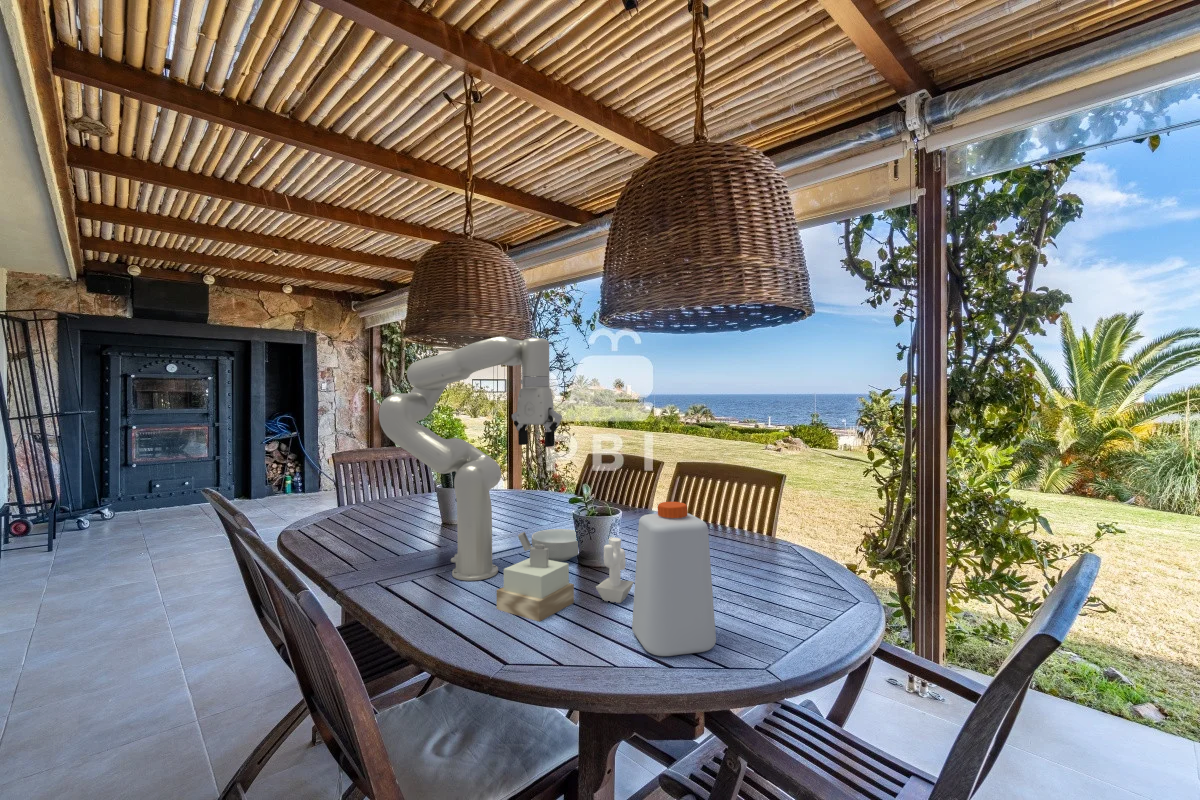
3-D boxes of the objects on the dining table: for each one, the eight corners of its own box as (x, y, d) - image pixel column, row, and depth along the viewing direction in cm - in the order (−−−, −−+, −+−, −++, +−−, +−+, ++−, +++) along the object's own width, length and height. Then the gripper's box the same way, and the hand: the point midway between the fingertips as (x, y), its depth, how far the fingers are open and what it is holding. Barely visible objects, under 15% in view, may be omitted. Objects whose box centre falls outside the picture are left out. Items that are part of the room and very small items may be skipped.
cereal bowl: (578, 567, 161) (578, 543, 160) (524, 564, 164) (523, 540, 164) (591, 551, 177) (591, 529, 177) (541, 548, 180) (541, 527, 180)
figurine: (635, 594, 139) (635, 535, 139) (621, 608, 130) (621, 544, 130) (609, 590, 142) (608, 532, 142) (593, 603, 133) (593, 541, 133)
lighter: (548, 565, 132) (548, 532, 132) (546, 568, 131) (546, 534, 130) (520, 564, 133) (519, 531, 133) (517, 566, 132) (517, 533, 132)
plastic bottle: (649, 661, 105) (649, 514, 104) (627, 628, 119) (626, 498, 119) (723, 652, 108) (723, 509, 108) (692, 621, 123) (692, 495, 122)
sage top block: (503, 590, 130) (503, 569, 130) (532, 576, 140) (532, 556, 139) (541, 598, 124) (541, 576, 124) (568, 584, 134) (568, 563, 134)
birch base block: (496, 611, 130) (496, 590, 130) (532, 594, 141) (532, 574, 141) (539, 623, 123) (539, 601, 123) (573, 604, 134) (573, 584, 134)
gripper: (503, 383, 154) (503, 445, 154) (551, 382, 144) (551, 448, 145) (521, 383, 160) (522, 442, 161) (569, 383, 150) (569, 446, 151)
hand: (536, 445), depth 153 cm, fingers open, 9 cm apart
